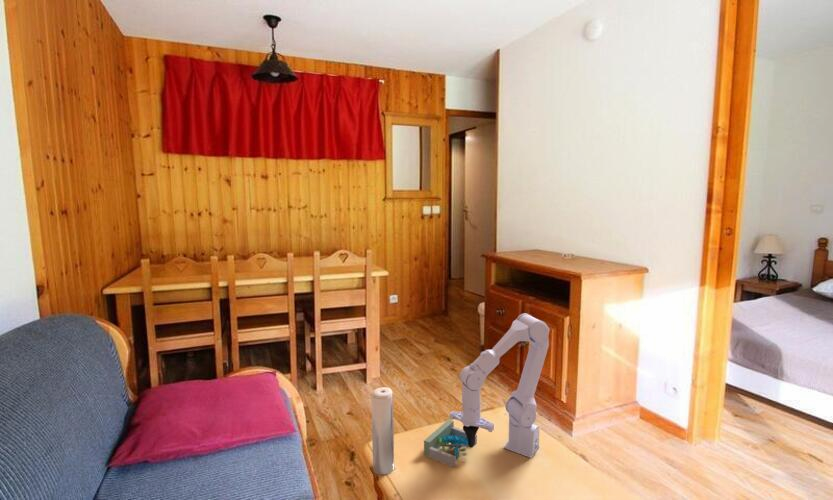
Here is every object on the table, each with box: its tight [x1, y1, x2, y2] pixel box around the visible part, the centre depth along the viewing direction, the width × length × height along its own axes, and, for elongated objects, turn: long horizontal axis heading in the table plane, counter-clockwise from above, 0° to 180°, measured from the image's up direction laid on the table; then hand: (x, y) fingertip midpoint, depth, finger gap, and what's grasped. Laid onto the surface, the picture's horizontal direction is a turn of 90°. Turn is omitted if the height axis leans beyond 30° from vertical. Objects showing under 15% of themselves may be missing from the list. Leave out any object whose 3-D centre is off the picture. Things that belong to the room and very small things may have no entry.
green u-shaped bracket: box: [423, 419, 478, 468], centre depth 138 cm, size 11×15×5 cm
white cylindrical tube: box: [370, 386, 395, 476], centre depth 127 cm, size 6×6×25 cm
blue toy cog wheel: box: [438, 435, 469, 458], centre depth 136 cm, size 11×6×10 cm
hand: (471, 445), depth 134 cm, fingers closed, pressing on blue toy cog wheel
